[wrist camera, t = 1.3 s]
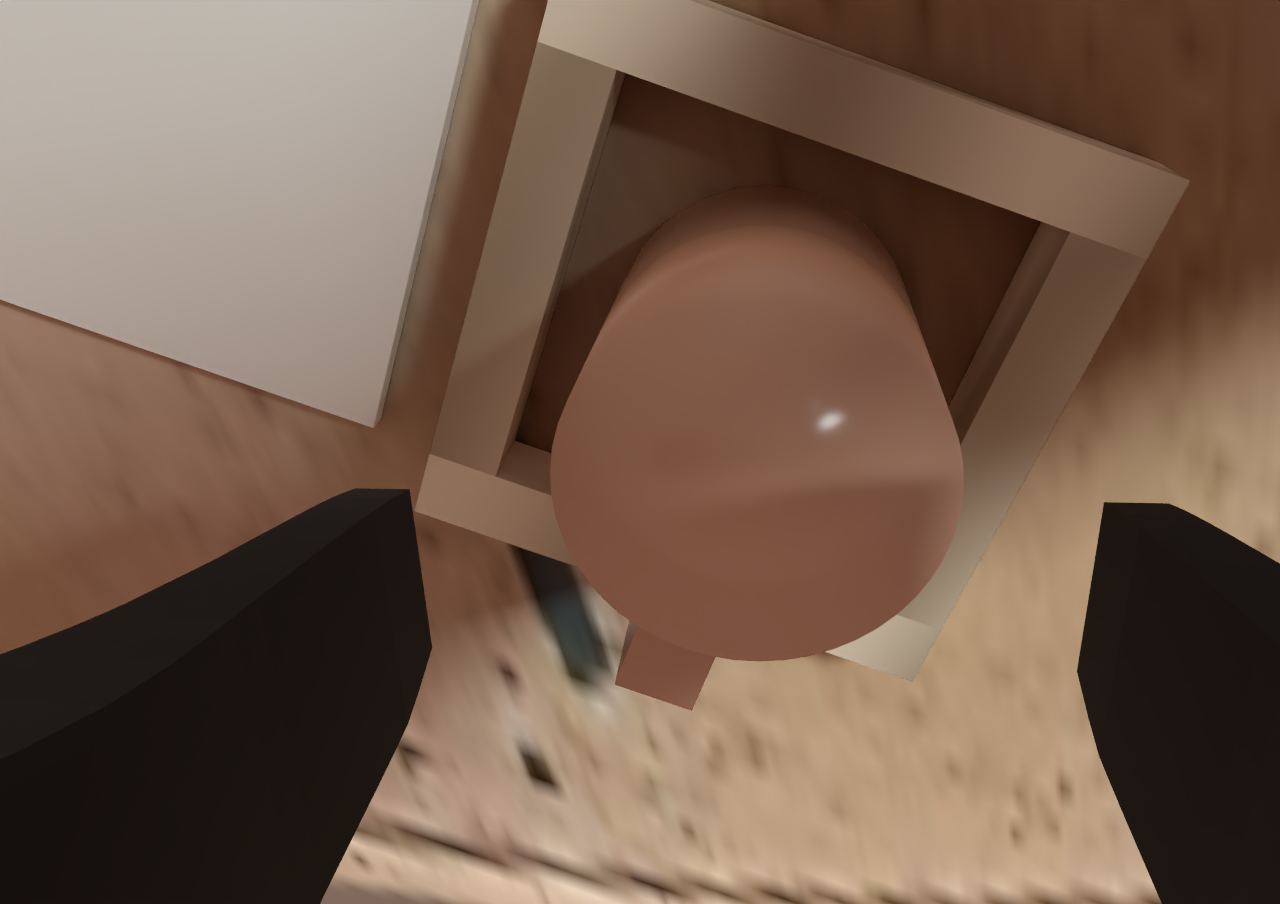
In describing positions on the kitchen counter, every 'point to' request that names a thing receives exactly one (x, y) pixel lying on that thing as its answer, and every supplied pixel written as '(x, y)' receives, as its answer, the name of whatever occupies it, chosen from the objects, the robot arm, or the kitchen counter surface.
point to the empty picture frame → (841, 118)
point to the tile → (229, 178)
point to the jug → (755, 442)
